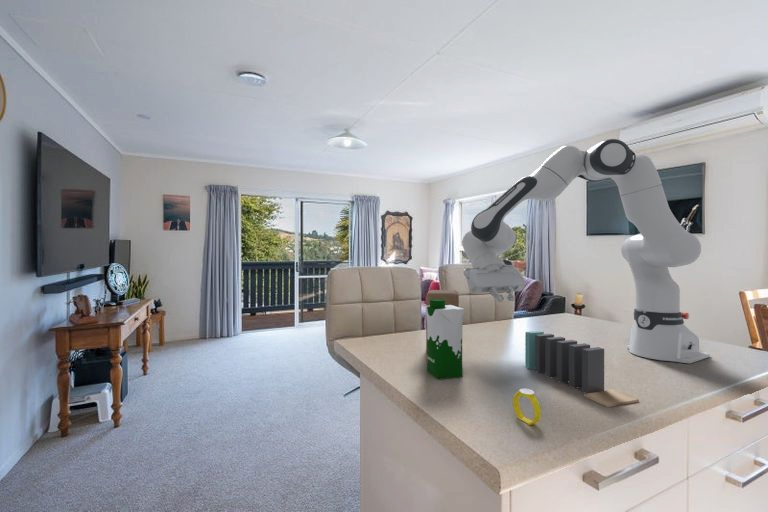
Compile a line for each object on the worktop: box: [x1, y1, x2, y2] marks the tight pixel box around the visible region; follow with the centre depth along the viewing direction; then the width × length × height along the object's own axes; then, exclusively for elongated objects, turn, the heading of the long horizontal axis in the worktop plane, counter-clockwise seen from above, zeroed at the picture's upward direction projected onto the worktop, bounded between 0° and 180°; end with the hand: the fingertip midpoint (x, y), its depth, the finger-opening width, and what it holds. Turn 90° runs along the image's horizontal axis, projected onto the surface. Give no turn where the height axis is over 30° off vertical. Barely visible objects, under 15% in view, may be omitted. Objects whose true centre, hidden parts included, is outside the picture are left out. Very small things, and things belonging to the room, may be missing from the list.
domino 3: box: [544, 336, 566, 379], centre depth 94 cm, size 2×5×10 cm, turn 109°
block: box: [425, 289, 460, 354], centre depth 116 cm, size 10×10×20 cm
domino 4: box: [556, 339, 578, 384], centre depth 91 cm, size 2×5×10 cm, turn 109°
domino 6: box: [581, 346, 605, 394], centre depth 83 cm, size 2×5×10 cm, turn 109°
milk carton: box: [425, 299, 465, 380], centre depth 96 cm, size 9×9×20 cm
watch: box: [512, 388, 542, 426], centre depth 69 cm, size 6×3×6 cm, turn 22°
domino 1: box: [524, 330, 545, 370], centre depth 101 cm, size 2×5×10 cm, turn 109°
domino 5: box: [568, 343, 591, 389], centre depth 87 cm, size 2×5×10 cm, turn 109°
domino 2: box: [534, 333, 555, 374], centre depth 98 cm, size 2×5×10 cm, turn 109°
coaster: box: [583, 388, 640, 408], centre depth 79 cm, size 9×6×1 cm, turn 109°
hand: (506, 300), depth 113 cm, fingers open, 3 cm apart
